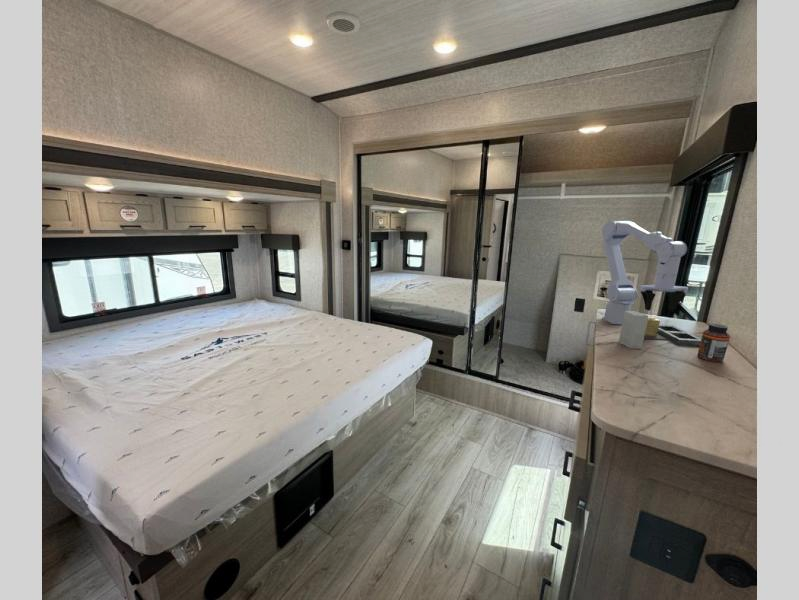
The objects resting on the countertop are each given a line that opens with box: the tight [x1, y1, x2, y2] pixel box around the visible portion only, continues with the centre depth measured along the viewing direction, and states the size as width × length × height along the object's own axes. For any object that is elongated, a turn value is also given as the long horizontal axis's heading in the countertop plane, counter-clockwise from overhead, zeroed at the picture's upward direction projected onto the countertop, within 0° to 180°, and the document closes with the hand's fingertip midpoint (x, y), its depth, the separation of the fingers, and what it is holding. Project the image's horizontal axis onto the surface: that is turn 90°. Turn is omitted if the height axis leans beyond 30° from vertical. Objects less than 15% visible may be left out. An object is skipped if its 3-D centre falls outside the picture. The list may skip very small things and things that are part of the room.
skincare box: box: [618, 310, 649, 350], centre depth 106 cm, size 6×4×12 cm
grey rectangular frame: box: [657, 324, 702, 347], centre depth 115 cm, size 17×8×2 cm, turn 170°
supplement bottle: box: [697, 323, 731, 363], centre depth 96 cm, size 6×6×11 cm
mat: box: [644, 334, 668, 341], centre depth 117 cm, size 9×9×1 cm
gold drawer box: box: [644, 316, 661, 337], centre depth 116 cm, size 4×4×7 cm
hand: (658, 310), depth 115 cm, fingers open, 7 cm apart
